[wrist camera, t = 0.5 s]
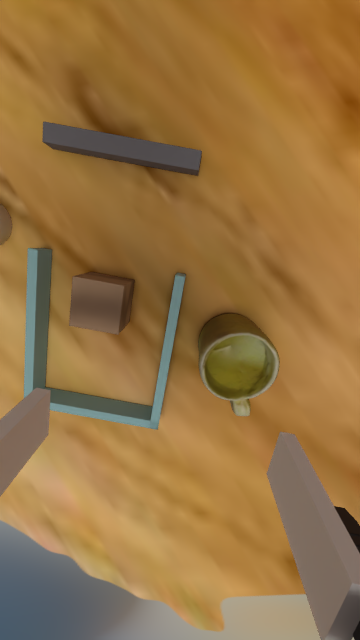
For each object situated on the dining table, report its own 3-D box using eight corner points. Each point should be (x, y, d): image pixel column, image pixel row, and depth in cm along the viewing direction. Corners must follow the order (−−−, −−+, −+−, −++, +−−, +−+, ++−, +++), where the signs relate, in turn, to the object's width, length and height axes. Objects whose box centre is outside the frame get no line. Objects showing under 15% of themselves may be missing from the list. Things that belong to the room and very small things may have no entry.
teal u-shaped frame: (43, 248, 36) (27, 248, 33) (185, 274, 36) (185, 276, 33) (37, 392, 42) (23, 405, 39) (160, 415, 42) (157, 429, 39)
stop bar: (53, 130, 33) (43, 121, 30) (201, 157, 33) (201, 150, 30) (53, 148, 33) (42, 141, 31) (197, 175, 33) (198, 170, 31)
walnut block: (91, 271, 37) (72, 276, 31) (134, 279, 37) (124, 285, 31) (87, 313, 38) (69, 325, 33) (129, 321, 38) (118, 334, 33)
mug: (186, 303, 35) (214, 343, 27) (256, 301, 38) (301, 337, 30) (179, 378, 41) (200, 431, 32) (240, 372, 44) (275, 419, 35)
